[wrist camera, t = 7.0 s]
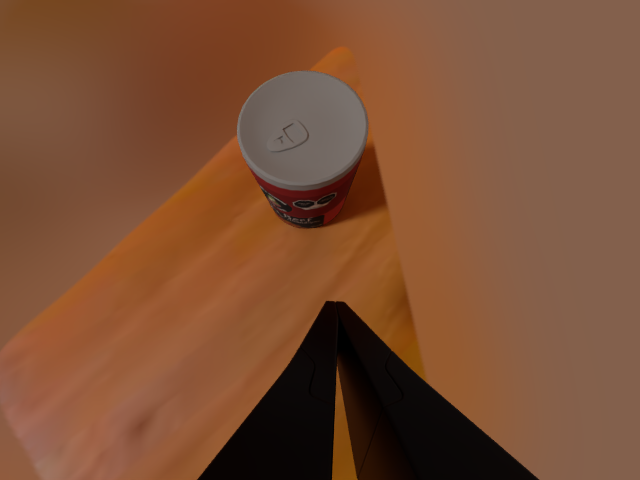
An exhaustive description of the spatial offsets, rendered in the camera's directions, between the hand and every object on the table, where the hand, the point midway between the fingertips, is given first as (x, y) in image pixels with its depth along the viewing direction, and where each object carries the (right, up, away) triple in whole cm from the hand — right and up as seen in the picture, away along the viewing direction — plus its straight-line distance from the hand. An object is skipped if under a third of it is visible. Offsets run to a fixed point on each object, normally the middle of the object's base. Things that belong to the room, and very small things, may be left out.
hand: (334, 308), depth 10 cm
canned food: (-2, +8, +14) cm, 16 cm away
